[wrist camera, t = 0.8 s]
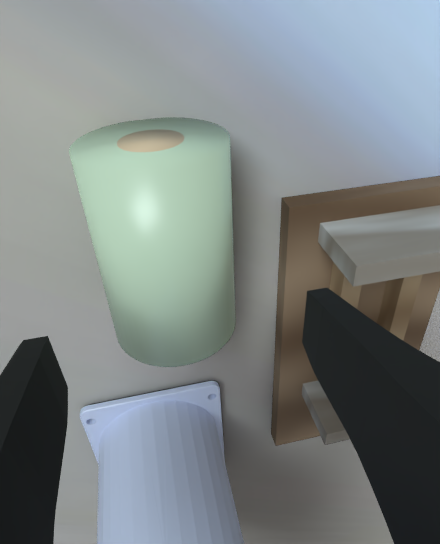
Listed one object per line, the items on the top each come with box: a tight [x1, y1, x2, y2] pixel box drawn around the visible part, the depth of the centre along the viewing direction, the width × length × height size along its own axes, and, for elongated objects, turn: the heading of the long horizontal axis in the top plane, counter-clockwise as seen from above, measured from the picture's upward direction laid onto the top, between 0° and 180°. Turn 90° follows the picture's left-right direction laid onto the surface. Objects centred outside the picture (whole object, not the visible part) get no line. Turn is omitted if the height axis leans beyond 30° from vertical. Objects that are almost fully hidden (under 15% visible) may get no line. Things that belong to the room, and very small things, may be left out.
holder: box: [271, 176, 440, 446], centre depth 23 cm, size 18×9×4 cm, turn 2°
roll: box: [69, 118, 236, 367], centre depth 16 cm, size 8×5×5 cm, turn 2°
